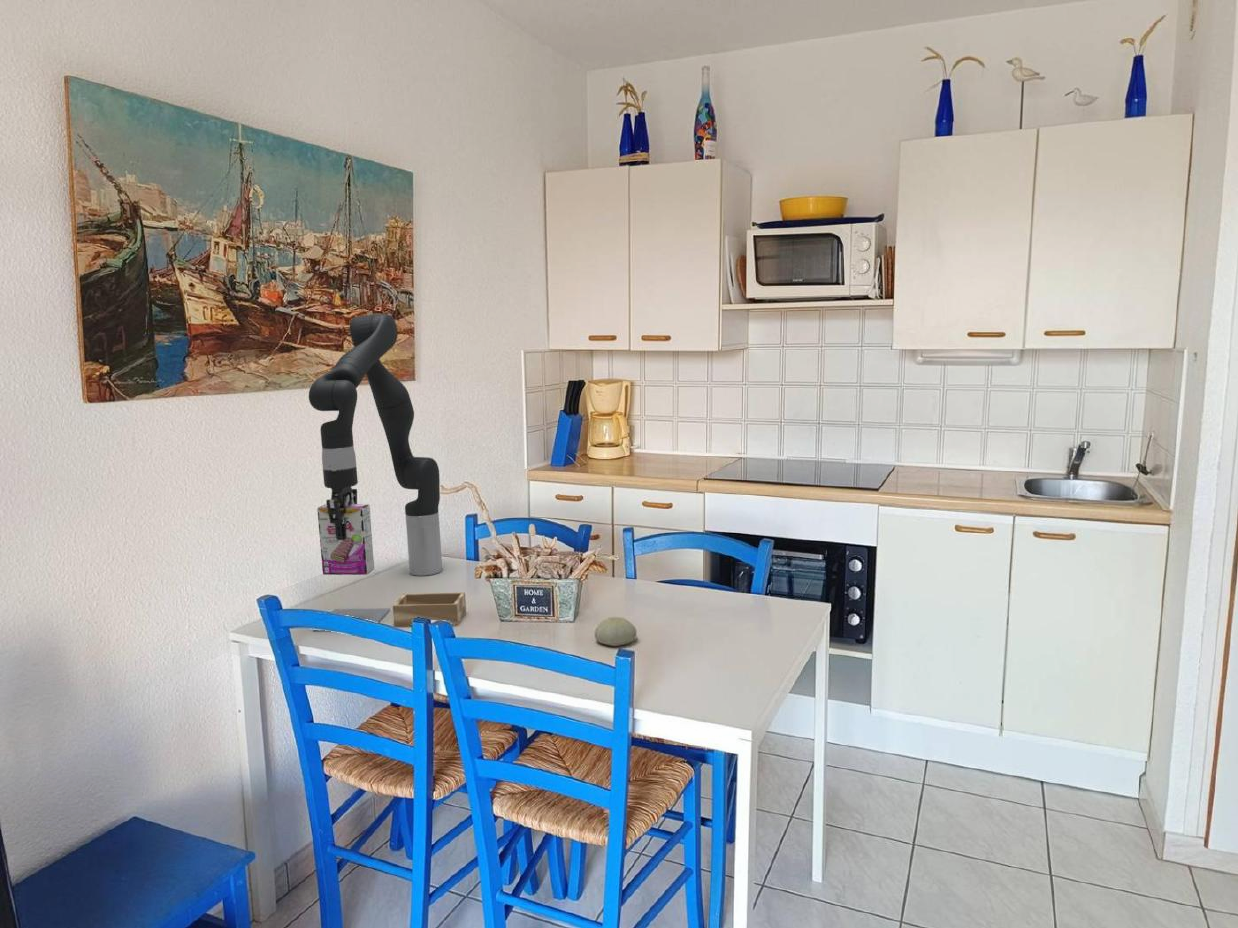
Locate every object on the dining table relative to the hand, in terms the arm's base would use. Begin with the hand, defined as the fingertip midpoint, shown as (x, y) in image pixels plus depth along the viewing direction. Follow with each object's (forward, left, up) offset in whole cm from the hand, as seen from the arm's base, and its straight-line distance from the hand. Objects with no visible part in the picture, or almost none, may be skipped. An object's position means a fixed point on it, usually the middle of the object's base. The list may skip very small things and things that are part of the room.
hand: (345, 536), depth 203 cm
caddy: (0, +19, -21) cm, 28 cm away
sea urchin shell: (+16, +64, -21) cm, 69 cm away
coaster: (0, 0, -21) cm, 21 cm away
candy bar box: (0, 0, -9) cm, 9 cm away
